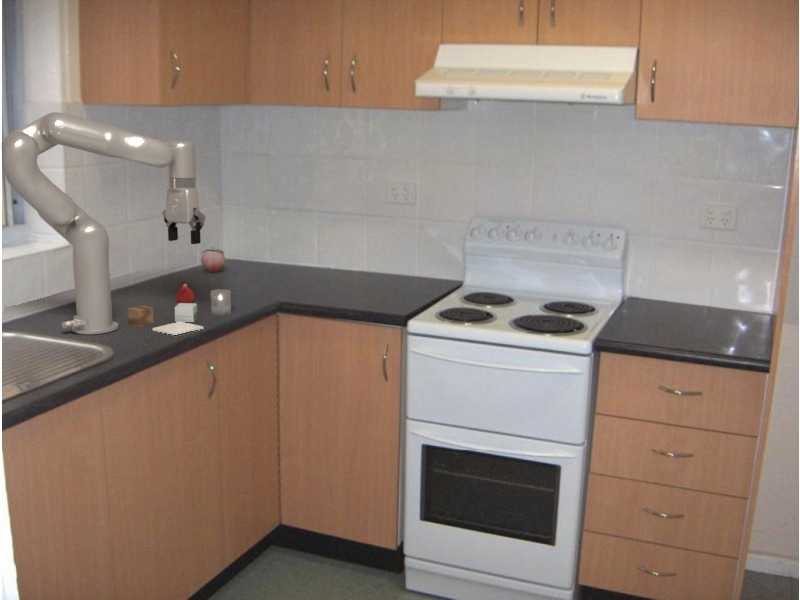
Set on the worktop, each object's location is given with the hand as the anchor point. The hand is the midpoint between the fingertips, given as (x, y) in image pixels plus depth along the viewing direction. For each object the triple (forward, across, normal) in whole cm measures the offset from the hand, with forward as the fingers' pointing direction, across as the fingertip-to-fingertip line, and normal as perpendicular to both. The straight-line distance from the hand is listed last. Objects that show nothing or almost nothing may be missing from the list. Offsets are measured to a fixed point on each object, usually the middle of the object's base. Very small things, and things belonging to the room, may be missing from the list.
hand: (184, 242), depth 259 cm
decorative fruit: (+23, -49, +58) cm, 80 cm away
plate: (+24, +8, -10) cm, 27 cm away
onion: (+24, -11, +9) cm, 27 cm away
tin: (+23, +2, +12) cm, 26 cm away
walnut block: (+24, -6, -12) cm, 27 cm away
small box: (+24, +1, -1) cm, 24 cm away
